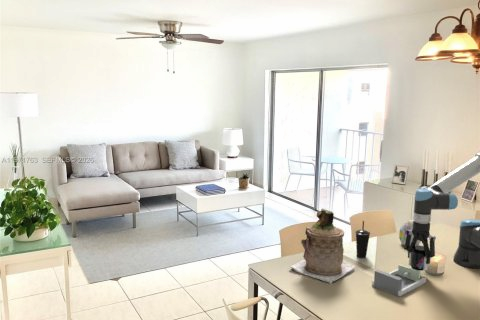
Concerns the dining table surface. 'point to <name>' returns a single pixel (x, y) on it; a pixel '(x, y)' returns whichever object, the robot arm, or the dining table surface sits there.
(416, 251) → the supplement container
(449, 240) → the dining table surface
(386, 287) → the pusher lane
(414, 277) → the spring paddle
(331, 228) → the cookie jar
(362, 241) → the drinking cup
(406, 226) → the decorative egg
